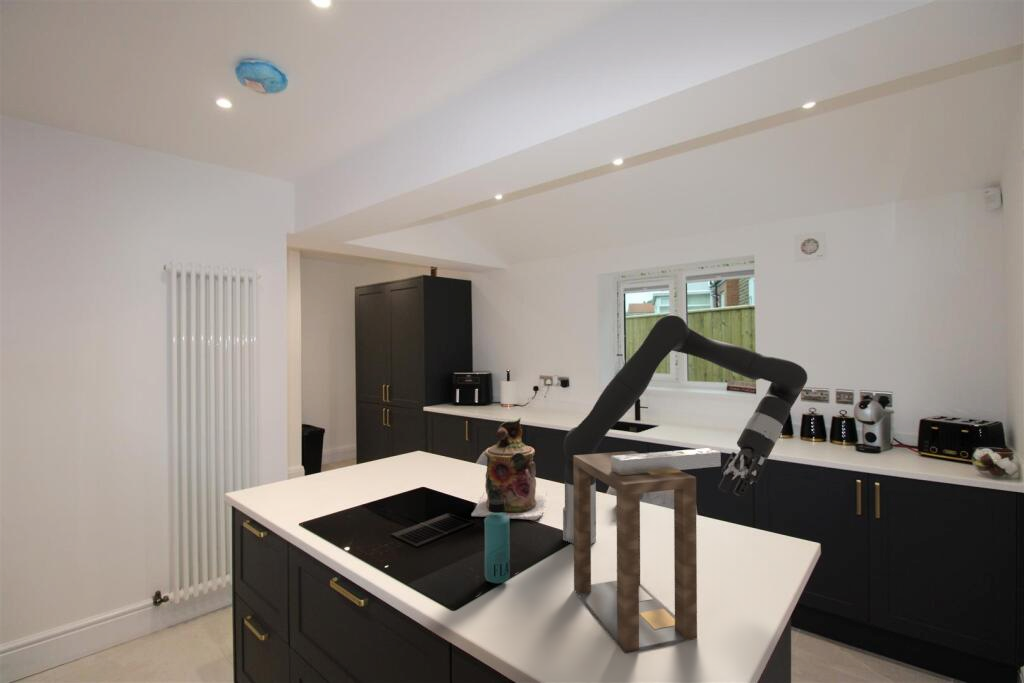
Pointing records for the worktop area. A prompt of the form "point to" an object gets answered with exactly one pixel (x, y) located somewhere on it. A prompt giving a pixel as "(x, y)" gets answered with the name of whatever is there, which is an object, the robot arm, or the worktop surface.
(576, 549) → the switch shelf
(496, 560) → the beverage bottle
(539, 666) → the worktop surface
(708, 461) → the gray rectangular block
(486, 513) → the cookie jar
